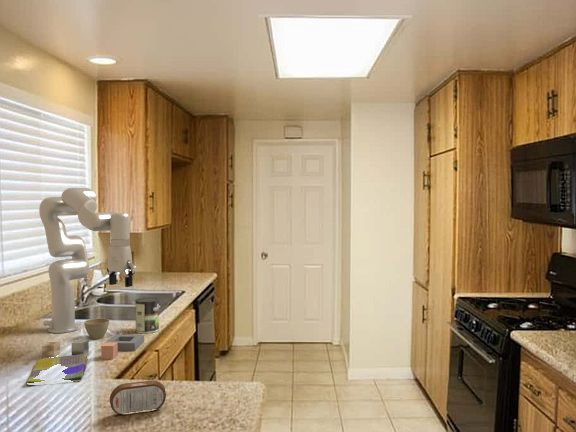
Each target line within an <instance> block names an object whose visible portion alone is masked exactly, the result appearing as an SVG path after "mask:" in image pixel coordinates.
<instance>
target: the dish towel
mask: <svg viewBox="0 0 576 432" xmlns="http://www.w3.org/2000/svg"><path fill="white" fill-rule="evenodd" d="M57 364H61V366H65V367H68V368H67V369H65V370H63V371H62V372H64V373H65V374H67V375H66V376H65V378H62V379H64V380H71V381H73V382H74V383H80V382H81V381H82V379H83V377H84V376H85V373H84V372H86V369H87V366H88V364H89V358H88V356H86V355H83V354H80V355H72V354H71V355H63V356H62V355H61V356H58V357H54V358H43V359H42V358H40V359H37V361H36V362H35V364H34V366H33V369H32V371H31V373H32V374H31V373H30V375H31V376H30V375H29V377H30V378H29V377H28V379H27V380H26V385H27V383H34V382H41V381H45V380H40V379H33V378H35V377H36V376H38V375H39V373H40V371H42V370H47V369H49V368H50V367H52V366H54V365H57Z"/></svg>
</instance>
